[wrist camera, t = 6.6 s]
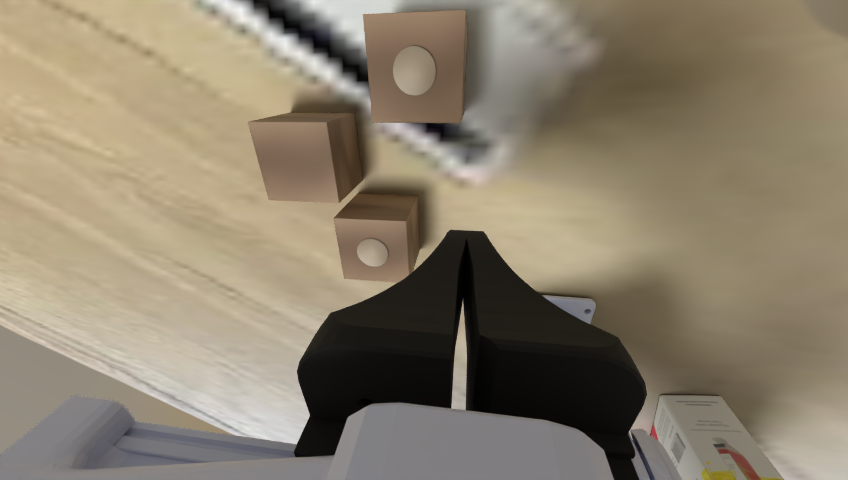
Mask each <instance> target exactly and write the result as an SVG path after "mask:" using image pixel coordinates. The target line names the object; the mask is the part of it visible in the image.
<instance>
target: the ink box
mask: <svg viewBox="0 0 848 480" xmlns="http://www.w3.org/2000/svg"><path fill="white" fill-rule="evenodd" d="M651 436H652V437H653V438H655V439H656V440H658V441H659V442H660V443H661V444H662V445H663V447H664V448H665V450H666V451H667V453H668V455H669V456H670V458H671V460H672V461H673V463H674V465H675V467H676V469H677V471H678V473H679V474H680V476H681V478H682V480H784V479H783V477H782V476H781V475H780V473H779V472H778V471H777V470H776V468H775V467H774V466H773V464H772V463H771V462H770V460H769V459H768V458H767V457H766V455H765V454H764V453H763V451H762V450H761V449H760V447H759V446H758V445H757V443H756V442H755V441H754V439H753V438H752V437H751V435H750V434H749V433H748V432H747V430H746V429H745V428H744V426H743V425H742V424H741V422H740V421H739V420H738V418H737V417H736V416H735V414H734V413H733V412H732V410H731V409H730V408H729V407H728V405H727V404H726V403H725V401H724V400H723V399H722V397H720V396H696V395H661V396H660V397H659V402H658V406H657V410H656V415H655V419H654V424H653V427H652V432H651Z"/></svg>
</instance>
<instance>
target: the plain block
mask: <svg viewBox="0 0 848 480" xmlns="http://www.w3.org/2000/svg"><path fill="white" fill-rule="evenodd" d="M248 125H249V129H250V132H251V136H252V140H253V143H254V147H255V151H256V154H257V158H258V162H259V165H260V169H261V173H262V176H263V180H264V184H265V188H266V191H267V195H268V199H269V200H278V201H302V202H325V203H340V202H341V201H342V200H343V199H344V198H345V197H346V196H347V195H348V194H349V193H350V192H351V191H352V190H353V189H354V188H355V187H356V186H357V185H358V184H359V183H360V182H361V181H362V180H363V179H362V170H361V161H360V152H359V143H358V134H357V125H356V117H355V113H286V114H282V115H277V116H273V117H268V118H264V119H259V120H254V121H250V122H248Z"/></svg>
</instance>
